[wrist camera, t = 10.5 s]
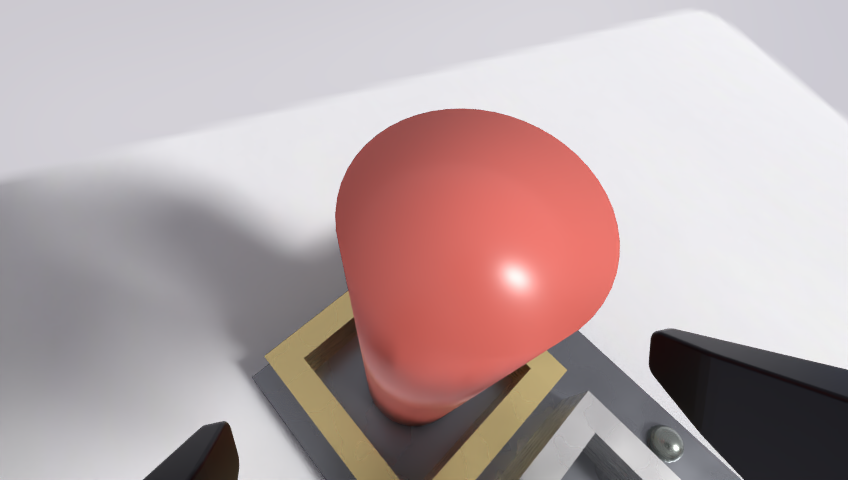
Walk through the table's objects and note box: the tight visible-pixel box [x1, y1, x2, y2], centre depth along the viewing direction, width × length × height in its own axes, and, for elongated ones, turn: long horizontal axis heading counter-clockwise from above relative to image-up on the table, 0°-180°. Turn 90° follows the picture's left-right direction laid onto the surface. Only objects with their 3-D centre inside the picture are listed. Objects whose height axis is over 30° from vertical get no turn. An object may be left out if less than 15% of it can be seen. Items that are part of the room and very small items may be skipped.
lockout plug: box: [335, 109, 620, 426], centre depth 11 cm, size 4×4×13 cm
